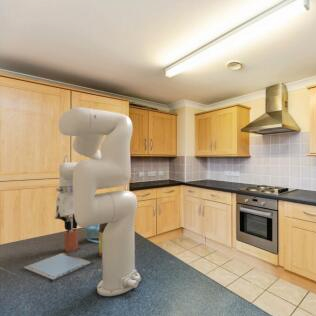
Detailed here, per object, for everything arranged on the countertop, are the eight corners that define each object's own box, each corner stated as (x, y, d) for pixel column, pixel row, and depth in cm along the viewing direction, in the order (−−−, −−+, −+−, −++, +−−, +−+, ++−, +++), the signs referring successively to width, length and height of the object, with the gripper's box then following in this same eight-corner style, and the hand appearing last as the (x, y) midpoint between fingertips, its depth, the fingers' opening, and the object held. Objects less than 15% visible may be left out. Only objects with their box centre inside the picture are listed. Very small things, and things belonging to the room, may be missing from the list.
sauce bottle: (107, 258, 89) (106, 211, 89) (95, 257, 90) (94, 211, 90) (119, 251, 95) (118, 207, 95) (107, 250, 97) (106, 207, 96)
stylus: (74, 248, 97) (73, 216, 97) (70, 250, 96) (70, 217, 96) (72, 248, 98) (71, 216, 97) (68, 249, 96) (68, 217, 96)
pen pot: (80, 249, 98) (79, 230, 98) (68, 253, 94) (68, 233, 94) (74, 247, 100) (73, 228, 100) (62, 251, 95) (62, 232, 95)
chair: (95, 237, 112) (95, 214, 112) (109, 237, 111) (109, 215, 111) (82, 243, 105) (82, 219, 105) (97, 243, 104) (97, 219, 103)
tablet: (91, 263, 85) (91, 261, 85) (52, 281, 73) (52, 278, 73) (62, 254, 93) (62, 252, 93) (23, 269, 81) (23, 267, 81)
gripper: (54, 192, 88) (55, 236, 88) (93, 187, 102) (93, 224, 102) (44, 191, 91) (45, 233, 91) (83, 186, 105) (84, 223, 105)
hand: (71, 228), depth 97 cm, fingers closed
